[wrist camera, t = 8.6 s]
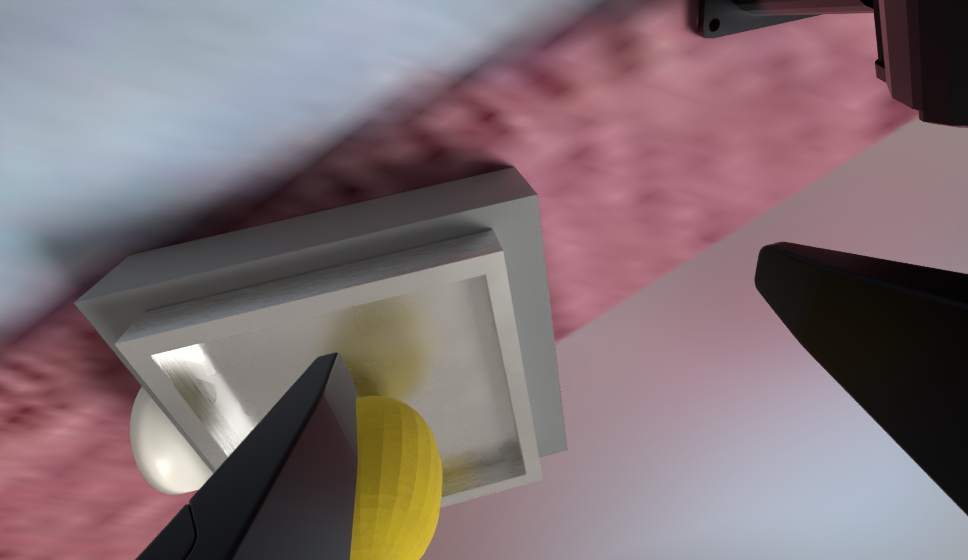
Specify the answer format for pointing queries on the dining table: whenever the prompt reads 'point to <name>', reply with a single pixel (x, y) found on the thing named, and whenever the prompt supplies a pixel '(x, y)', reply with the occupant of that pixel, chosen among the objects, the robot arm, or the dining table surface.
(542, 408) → the scale
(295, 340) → the pan
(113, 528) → the dining table surface
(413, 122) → the dining table surface
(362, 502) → the lemon
